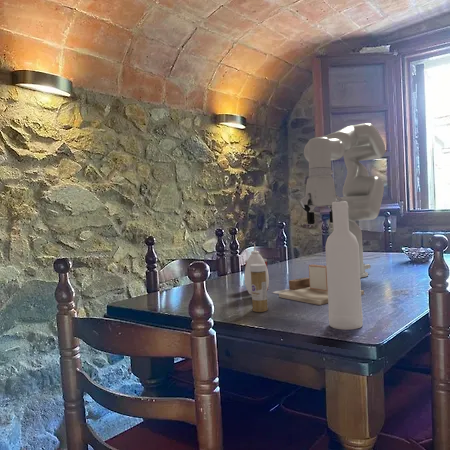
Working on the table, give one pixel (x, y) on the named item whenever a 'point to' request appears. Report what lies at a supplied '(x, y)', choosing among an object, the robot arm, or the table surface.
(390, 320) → the table surface
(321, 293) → the board
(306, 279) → the scraper
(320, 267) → the tile
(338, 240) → the bottle
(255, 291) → the sprinkles bottle
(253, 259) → the sauce bottle
